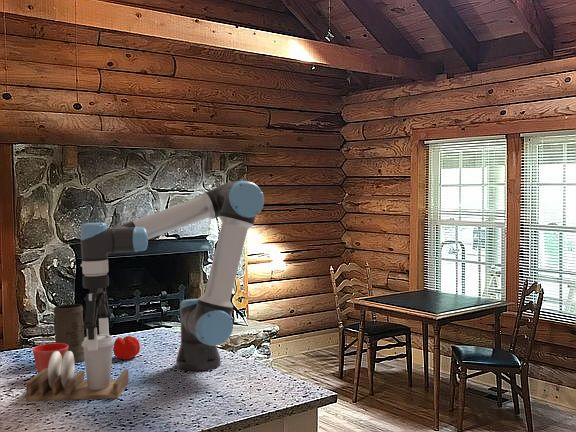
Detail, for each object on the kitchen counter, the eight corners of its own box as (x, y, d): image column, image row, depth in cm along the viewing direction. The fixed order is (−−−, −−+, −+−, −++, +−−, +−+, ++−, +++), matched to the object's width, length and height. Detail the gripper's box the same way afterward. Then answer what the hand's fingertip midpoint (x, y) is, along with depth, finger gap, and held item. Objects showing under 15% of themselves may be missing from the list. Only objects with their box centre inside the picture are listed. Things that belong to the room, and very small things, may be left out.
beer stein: (93, 358, 226) (89, 303, 226) (68, 365, 217) (64, 308, 217) (65, 356, 234) (61, 302, 234) (40, 362, 225) (36, 307, 225)
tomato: (113, 362, 222) (112, 341, 221) (114, 355, 230) (113, 335, 230) (140, 360, 224) (139, 339, 224) (140, 354, 232) (139, 333, 232)
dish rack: (128, 382, 197) (127, 344, 196) (117, 398, 182) (116, 356, 181) (44, 384, 196) (43, 346, 195) (26, 400, 181) (25, 358, 180)
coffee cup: (96, 393, 183) (94, 342, 182) (75, 387, 188) (74, 338, 188) (122, 385, 191) (121, 336, 190) (101, 379, 196) (100, 332, 196)
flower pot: (57, 381, 199) (56, 351, 199) (26, 380, 201) (25, 350, 201) (75, 372, 209) (74, 343, 209) (45, 370, 212) (45, 342, 211)
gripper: (94, 269, 200) (97, 335, 201) (70, 280, 175) (73, 355, 176) (117, 268, 200) (120, 334, 201) (97, 279, 175) (100, 354, 176)
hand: (98, 344), depth 189 cm, fingers open, 13 cm apart
